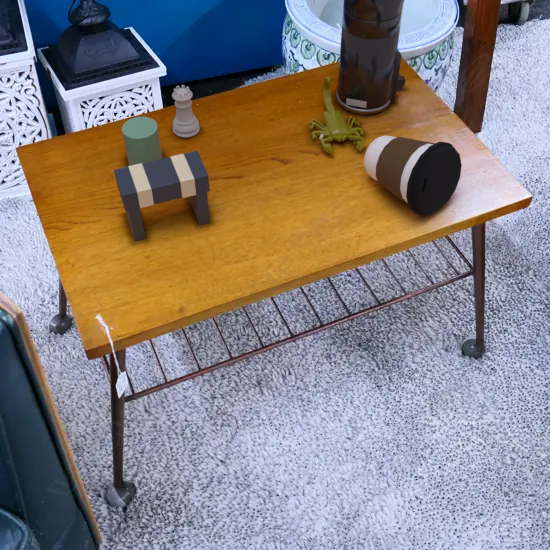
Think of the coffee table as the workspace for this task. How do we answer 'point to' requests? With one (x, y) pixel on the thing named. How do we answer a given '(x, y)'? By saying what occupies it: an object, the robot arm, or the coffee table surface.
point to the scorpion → (335, 124)
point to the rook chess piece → (184, 113)
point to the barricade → (163, 187)
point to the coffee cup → (415, 171)
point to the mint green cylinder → (141, 140)
